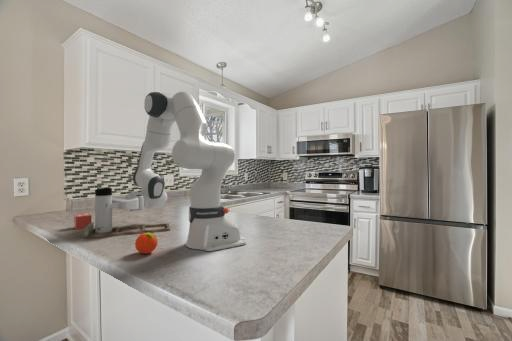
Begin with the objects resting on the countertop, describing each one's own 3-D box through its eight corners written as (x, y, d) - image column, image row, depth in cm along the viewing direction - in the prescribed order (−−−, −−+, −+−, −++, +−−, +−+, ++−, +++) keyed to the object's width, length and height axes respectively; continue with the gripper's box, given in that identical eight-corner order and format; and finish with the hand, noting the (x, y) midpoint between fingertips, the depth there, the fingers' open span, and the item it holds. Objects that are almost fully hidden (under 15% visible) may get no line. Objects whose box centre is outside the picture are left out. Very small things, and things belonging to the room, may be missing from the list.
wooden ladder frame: (168, 225, 124) (168, 217, 124) (170, 230, 113) (170, 221, 113) (90, 231, 111) (90, 222, 111) (83, 238, 100) (83, 228, 100)
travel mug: (99, 236, 103) (99, 188, 103) (92, 233, 107) (92, 187, 107) (115, 233, 108) (114, 187, 108) (108, 230, 112) (108, 186, 112)
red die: (89, 225, 122) (89, 213, 122) (91, 227, 118) (91, 214, 118) (74, 227, 118) (74, 214, 118) (76, 229, 114) (75, 216, 114)
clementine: (164, 252, 84) (164, 231, 84) (145, 258, 78) (145, 236, 78) (149, 248, 88) (148, 228, 88) (130, 254, 82) (130, 232, 82)
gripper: (123, 193, 125) (92, 195, 114) (145, 196, 112) (112, 199, 101) (123, 206, 125) (92, 209, 114) (145, 210, 112) (112, 214, 101)
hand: (102, 204), depth 107 cm, fingers open, 8 cm apart
